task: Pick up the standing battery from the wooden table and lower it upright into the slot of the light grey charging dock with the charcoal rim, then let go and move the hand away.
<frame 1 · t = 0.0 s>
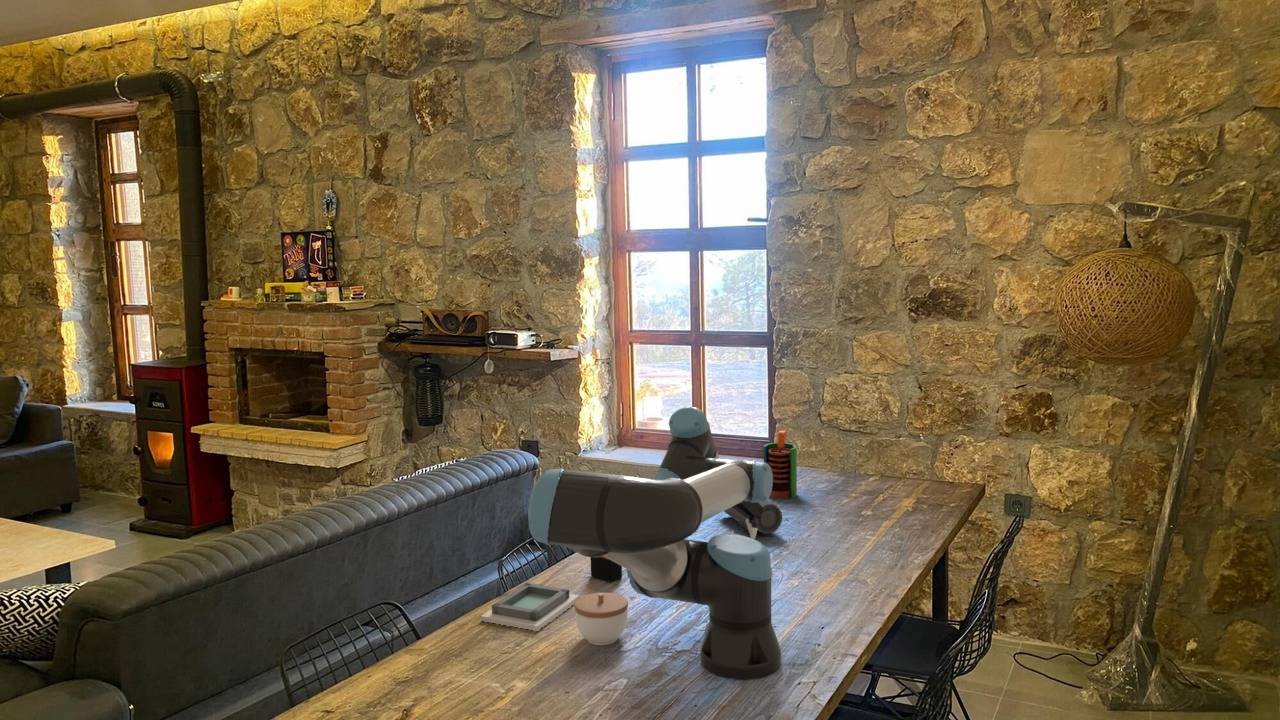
hand: (725, 530, 203), 15 cm above the table, tool tilted 35°, fingers open, 13 cm apart
bluetooth speaker: (749, 527, 255), on the table
battery: (606, 578, 218), on the table
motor: (780, 495, 286), on the table
lidded jar: (602, 640, 184), on the table
charging dock: (531, 610, 199), on the table
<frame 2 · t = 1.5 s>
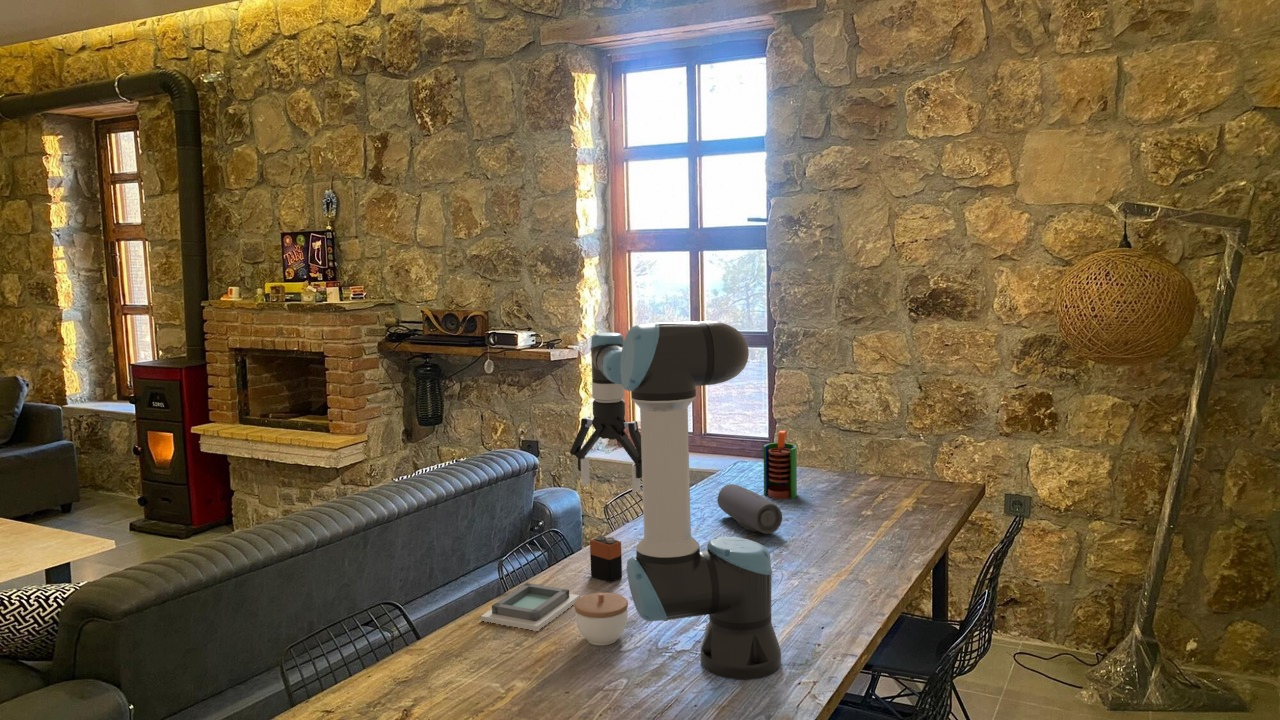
hand: (610, 487, 216), 22 cm above the table, tool pointing down, fingers open, 13 cm apart
nothing on the table moved.
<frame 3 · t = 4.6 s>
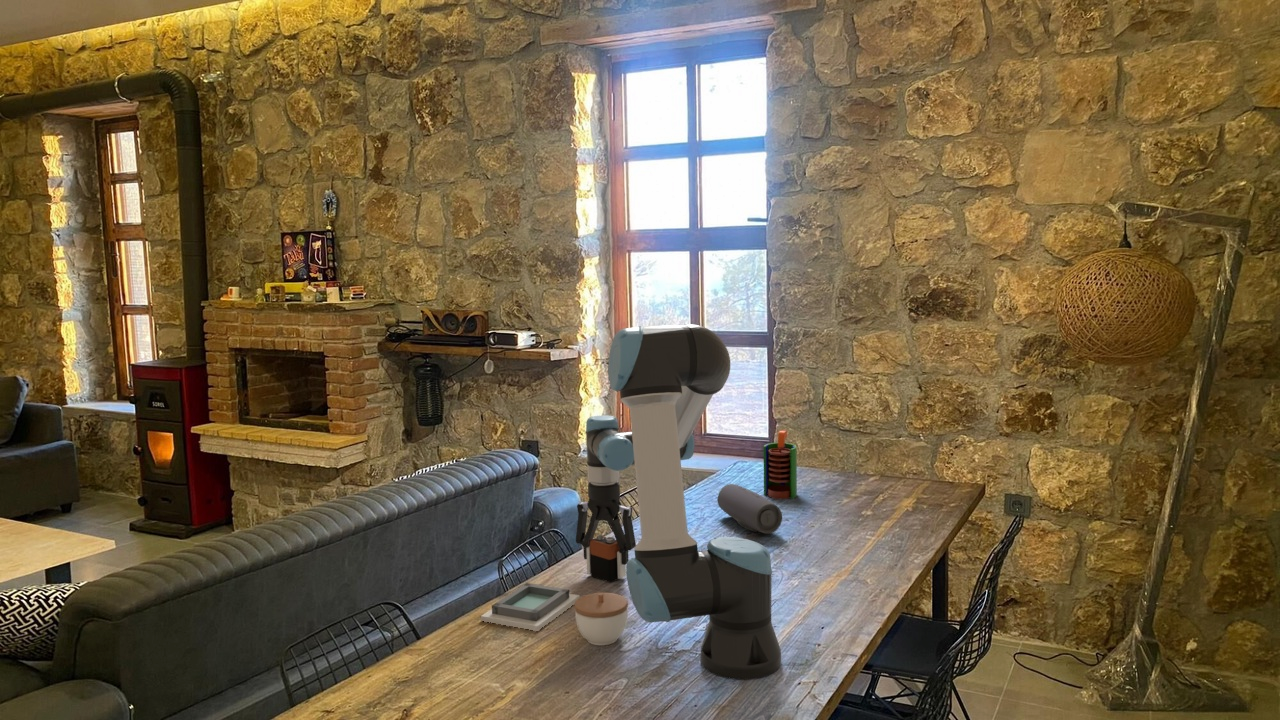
hand: (606, 574, 218), 1 cm above the table, tool pointing down, fingers closed on battery, 7 cm apart
battery: (606, 578, 218), on the table, touching gripper
everything else where it was.
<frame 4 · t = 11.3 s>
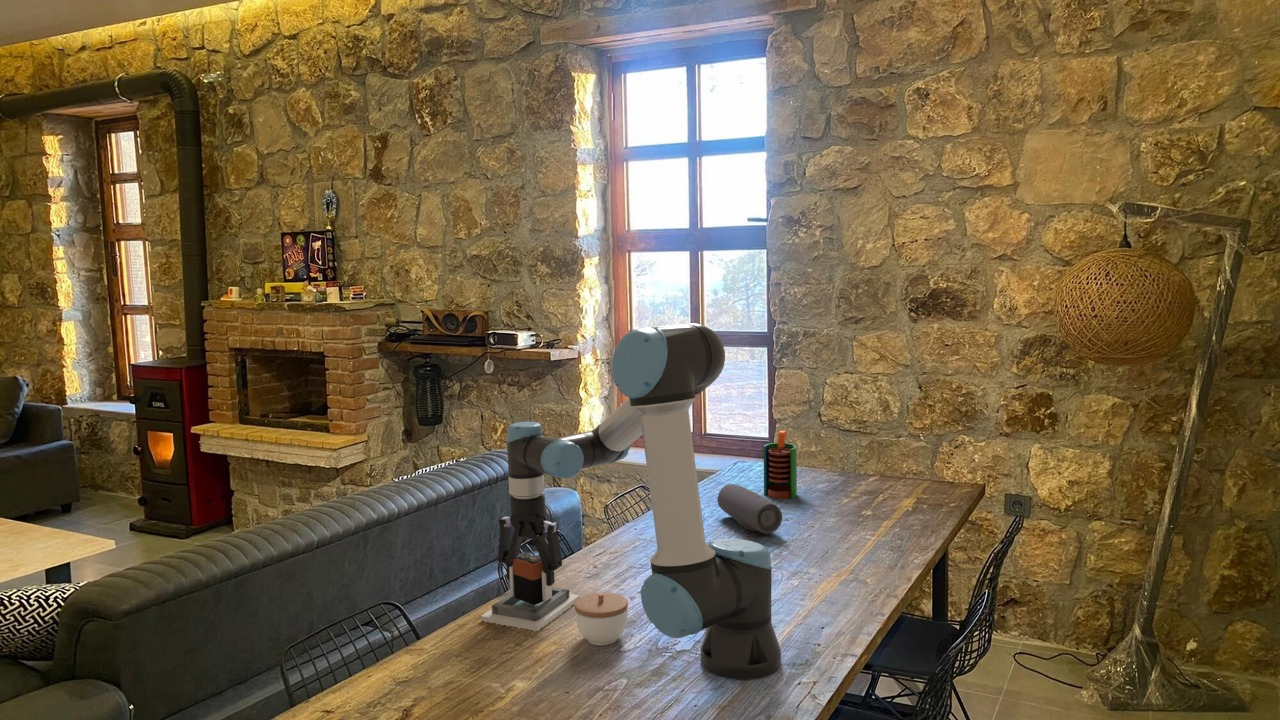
hand: (531, 596, 199), 3 cm above the table, tool pointing down, fingers closed on battery, 7 cm apart
battery: (531, 600, 199), point 2 cm above the table, touching gripper
everything else where it was.
when the fingers open (3 cm above the table, at t = 11.6 s): battery drops 1 cm, resting on charging dock.
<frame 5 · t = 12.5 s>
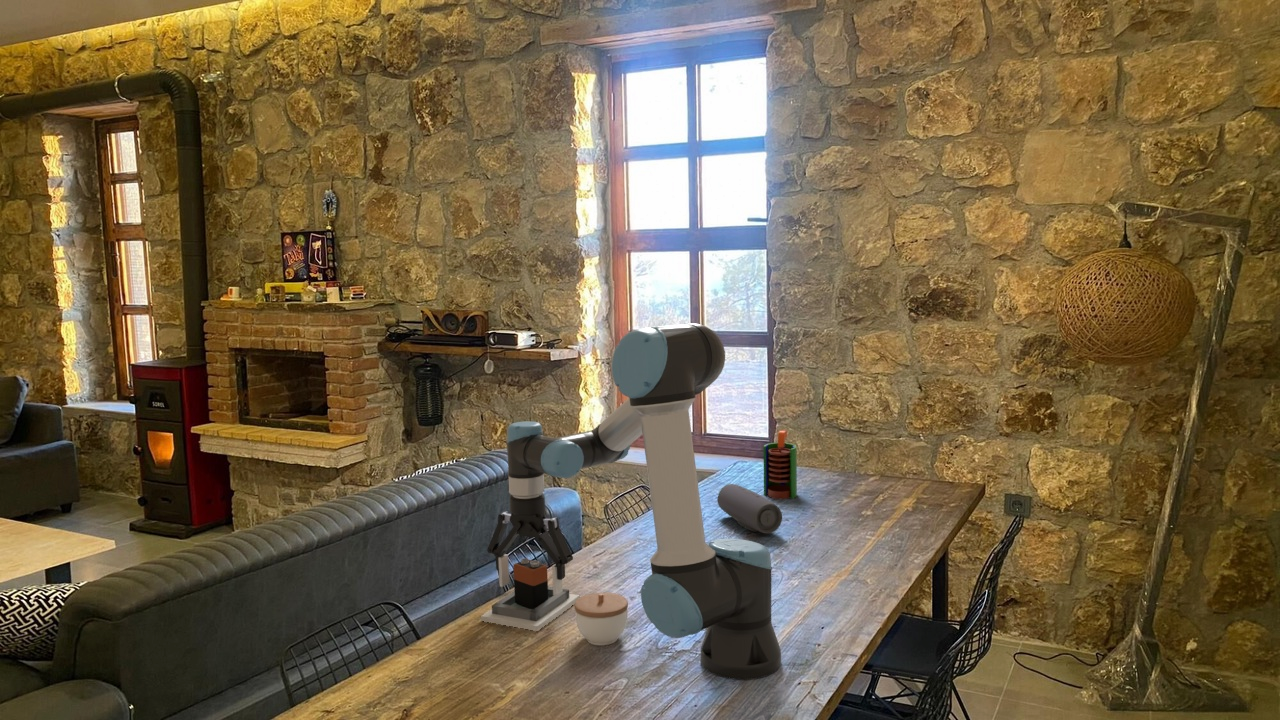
hand: (530, 589, 199), 5 cm above the table, tool pointing down, fingers open, 13 cm apart
battery: (531, 605, 199), point 1 cm above the table, touching charging dock
everything else where it was.
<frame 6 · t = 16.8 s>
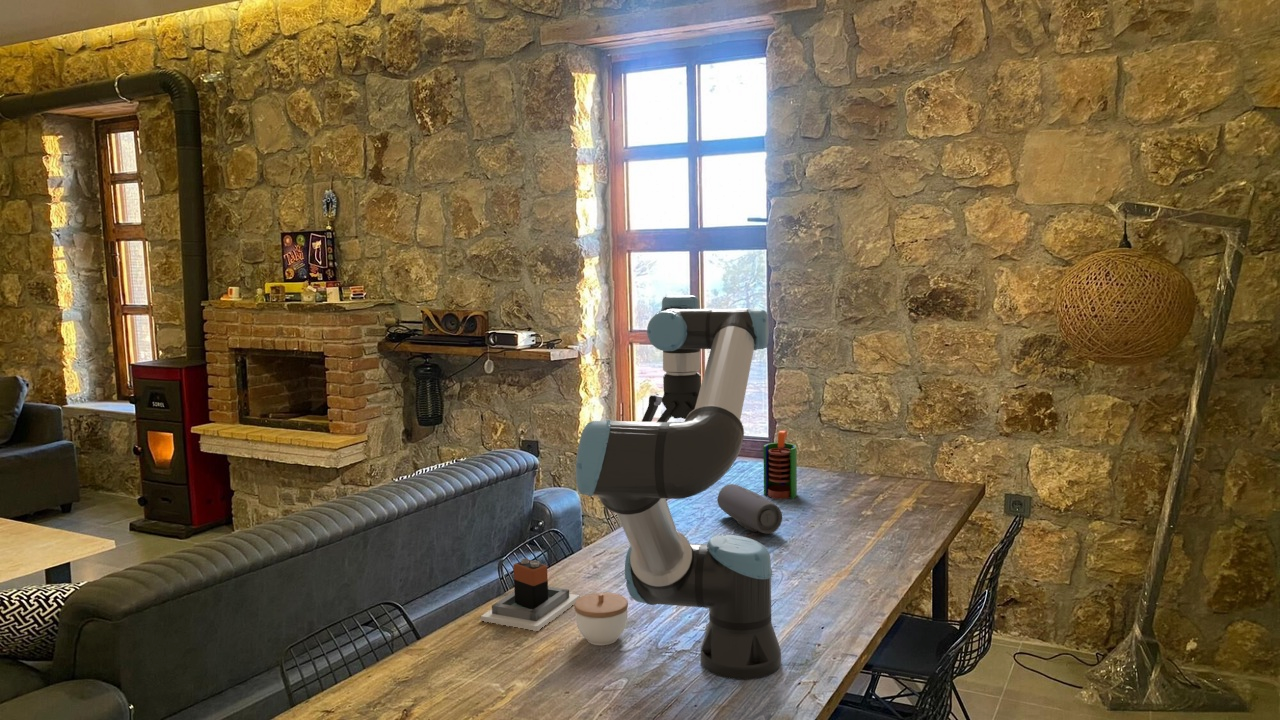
hand: (683, 475, 186), 32 cm above the table, tool pointing down, fingers open, 13 cm apart
nothing on the table moved.
at the end: battery 0.1 cm off-centre on the charging dock, point 1.1 cm above the charging dock's base; battery tilted 0°; the gripper is holding nothing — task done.
